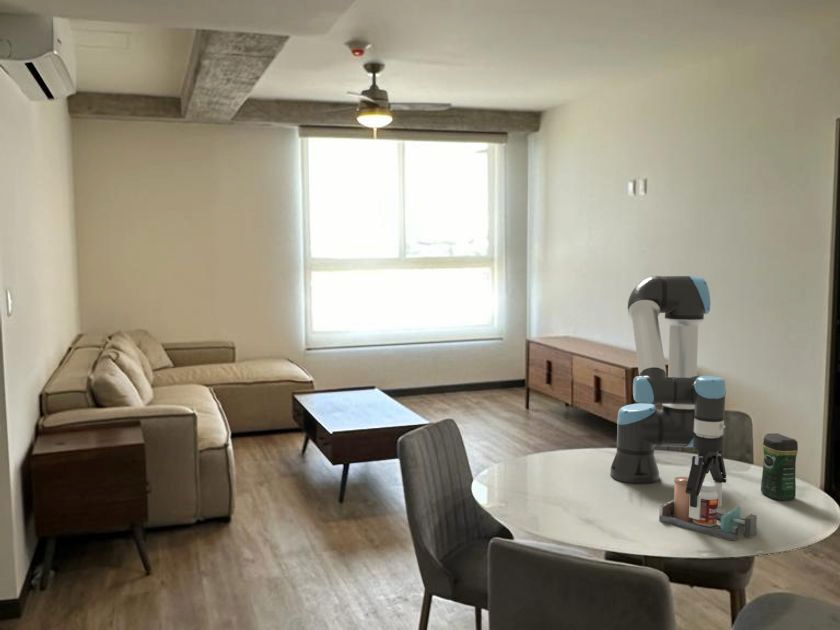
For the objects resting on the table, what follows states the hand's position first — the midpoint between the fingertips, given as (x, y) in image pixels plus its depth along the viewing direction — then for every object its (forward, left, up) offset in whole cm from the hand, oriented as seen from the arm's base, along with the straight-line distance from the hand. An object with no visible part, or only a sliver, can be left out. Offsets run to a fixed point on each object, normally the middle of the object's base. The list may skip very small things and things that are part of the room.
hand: (705, 511), depth 210 cm
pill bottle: (0, 0, -3) cm, 3 cm away
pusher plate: (+10, 0, -3) cm, 10 cm away
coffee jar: (+6, +37, -4) cm, 38 cm away
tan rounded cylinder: (-6, 0, -3) cm, 7 cm away
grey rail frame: (+1, 0, -3) cm, 3 cm away
